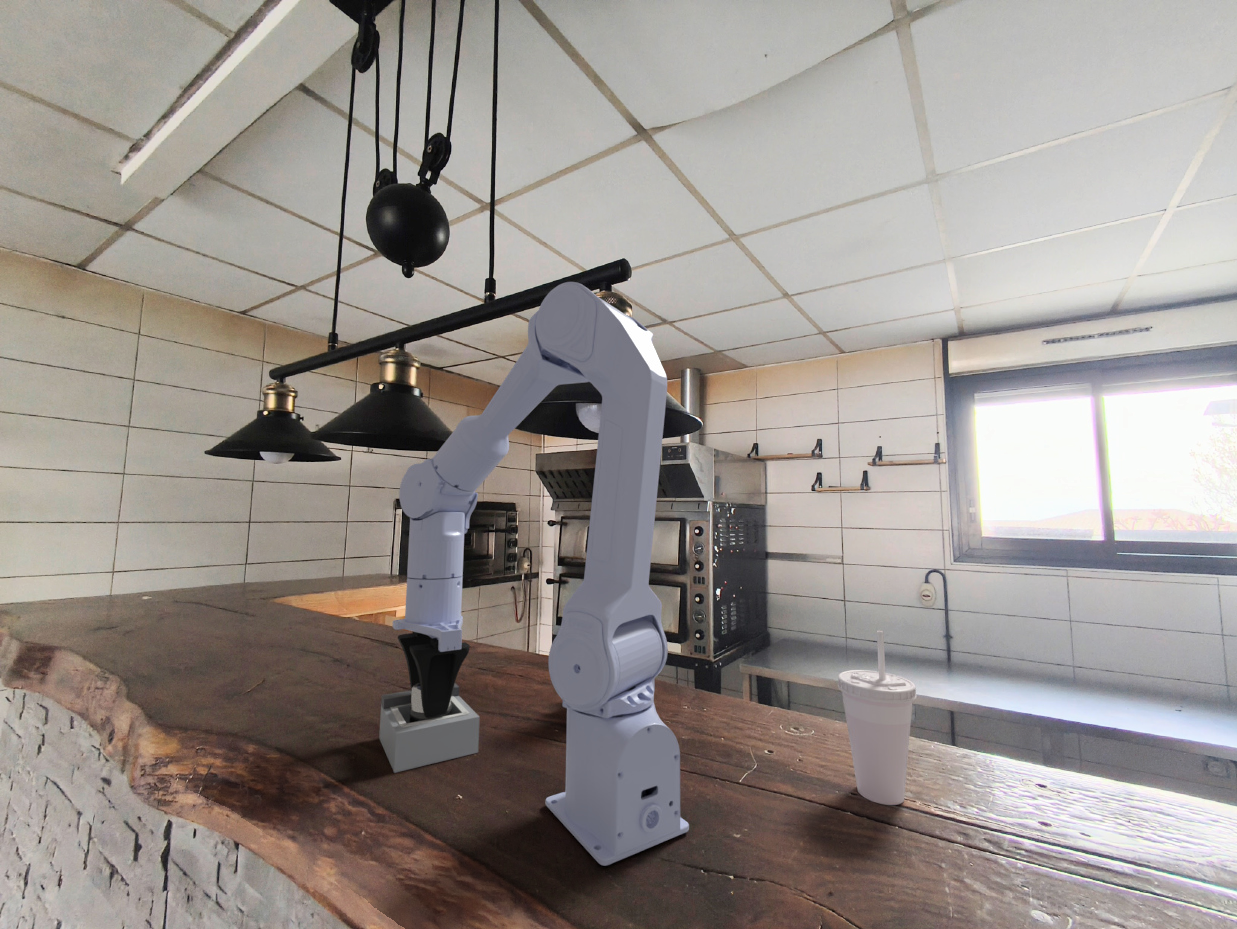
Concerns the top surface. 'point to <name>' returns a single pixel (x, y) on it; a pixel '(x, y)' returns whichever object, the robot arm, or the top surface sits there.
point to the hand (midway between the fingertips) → (429, 707)
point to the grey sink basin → (426, 732)
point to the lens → (417, 708)
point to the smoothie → (878, 728)
